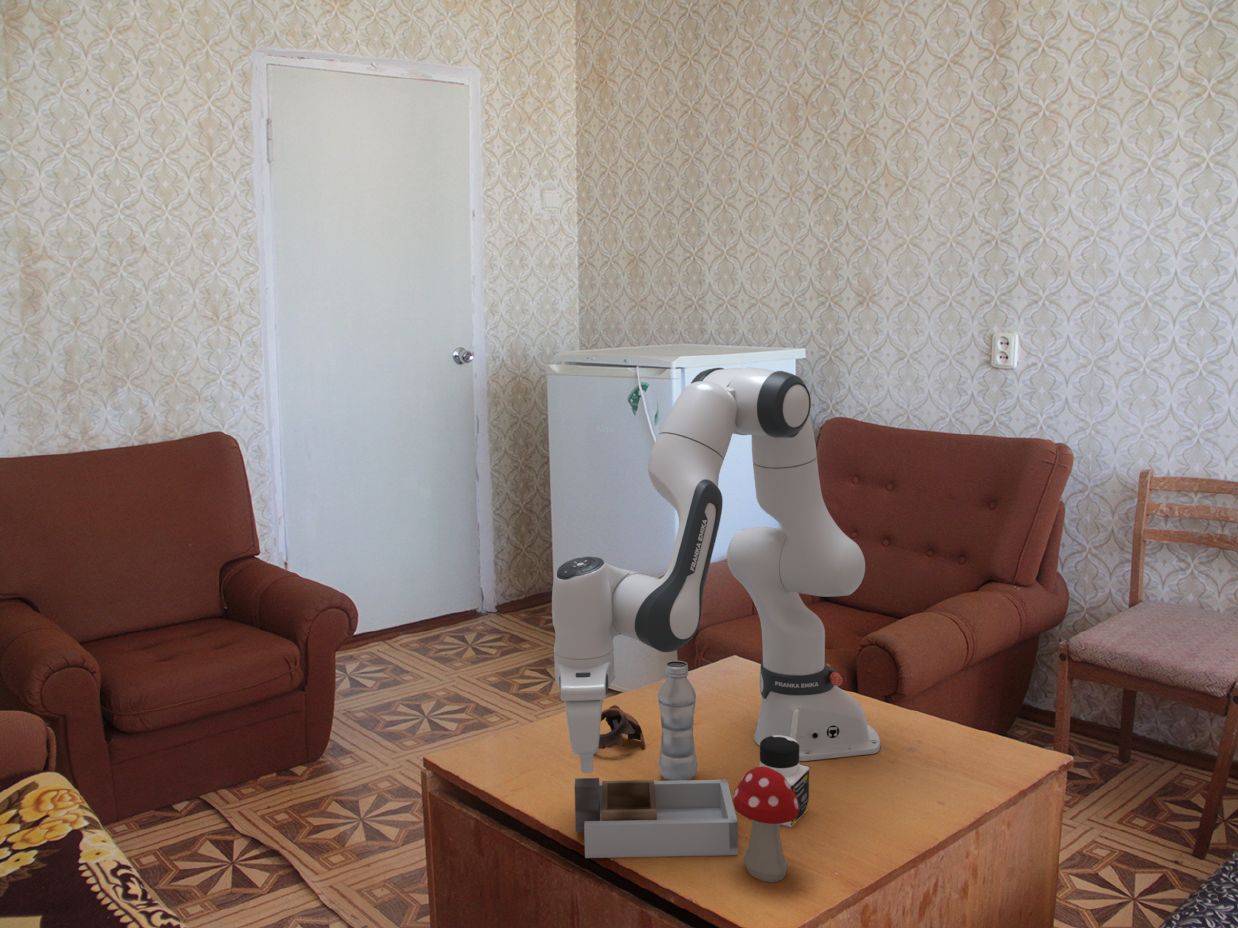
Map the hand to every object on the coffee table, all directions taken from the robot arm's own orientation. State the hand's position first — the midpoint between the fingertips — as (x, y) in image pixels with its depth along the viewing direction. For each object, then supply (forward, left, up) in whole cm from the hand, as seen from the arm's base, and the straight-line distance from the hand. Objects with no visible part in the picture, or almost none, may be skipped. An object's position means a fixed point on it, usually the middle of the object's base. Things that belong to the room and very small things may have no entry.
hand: (588, 756), depth 155 cm
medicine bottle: (-29, -5, -12) cm, 32 cm away
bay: (-10, +1, -12) cm, 16 cm away
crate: (-4, +1, -11) cm, 12 cm away
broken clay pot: (-4, -32, -12) cm, 35 cm away
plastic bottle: (-14, -18, -12) cm, 26 cm away
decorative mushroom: (-25, +12, -12) cm, 30 cm away
